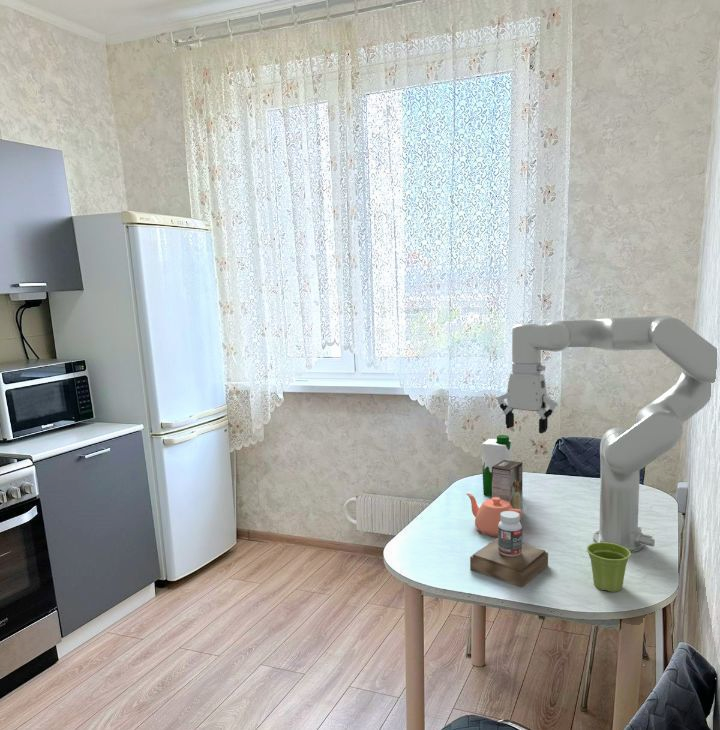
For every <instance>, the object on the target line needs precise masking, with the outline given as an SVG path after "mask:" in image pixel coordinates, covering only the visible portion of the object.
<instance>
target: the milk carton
mask: <svg viewBox="0 0 720 730" xmlns="http://www.w3.org/2000/svg"><path fill="white" fill-rule="evenodd" d="M481 446H482V448H481V449H482V450H481V451H482V490H483V495H484V496H491V497H492V467H493V466H494V465H496V464H498V463H499V462H501V461H503V460H509V461H512V459H511V458H512V456H511V455H512V440H510V436H509V435H506V434H503V435H501V434H499V435H497V436H496V438H488V439H487V440H485V441H484V442H482V444H481Z"/></svg>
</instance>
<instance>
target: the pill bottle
mask: <svg viewBox="0 0 720 730" xmlns="http://www.w3.org/2000/svg"><path fill="white" fill-rule="evenodd" d="M500 519H501V521H500V522H499V524H498V537H497V538H498V551H499V553H500V554H502V555H504V556H509V557H515V556H518V555H520V554H521V552H522V544H523V543H522V542H523V541H522V540H523V539H522V538H523V536H522V535H523V531H522V530H523V528H522V524H521V522H520V521H521V520H520V514H519V513H517V512H514V511H504V512H502V513H501V514H500ZM519 520H520V521H519Z"/></svg>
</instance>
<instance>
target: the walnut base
mask: <svg viewBox="0 0 720 730" xmlns="http://www.w3.org/2000/svg"><path fill="white" fill-rule="evenodd" d="M469 558H470V559H469V560H470V561H469V562H470V565H469V568H470V571H473V572H476V573H479V574H482V575H484V576H487V577H491V578H494V579H496V580H500V581H502V582H505V583H508V584H511V585H513V586H517V587H520V588H524V586H526V584H528V583H529V582H531V580H532V579H534V578H535V577H536V576H538V575H539V574H540V573H541V572H542V571H543V570H545V568H547V567H548V566H549V552H548V551H546V550H545V549H543V548H538V547H534V546H532V545H528V544H524V543H522V552H521V554H520V555H518V556H515V557H509V556H504V555H502V554H500V553H499V551H498V537H496V538H494V540H492V541H491V542H489V543H488V544H486V545H484V546H483V547H482V548H480V549H478V550H477V551H476V552H474V553H473V554H472V555H471V556H470V557H469Z"/></svg>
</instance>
